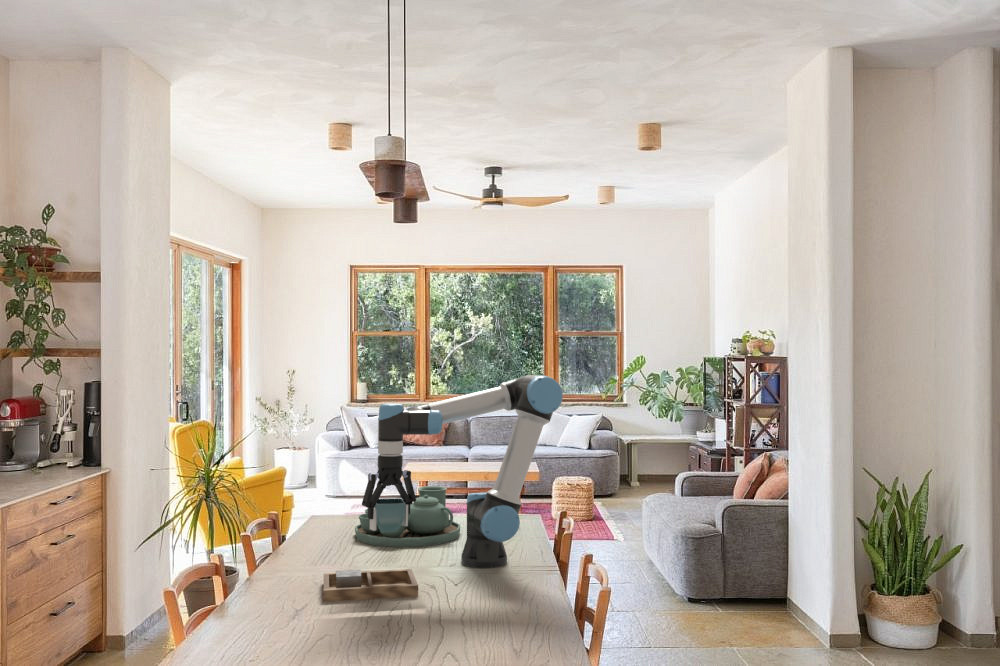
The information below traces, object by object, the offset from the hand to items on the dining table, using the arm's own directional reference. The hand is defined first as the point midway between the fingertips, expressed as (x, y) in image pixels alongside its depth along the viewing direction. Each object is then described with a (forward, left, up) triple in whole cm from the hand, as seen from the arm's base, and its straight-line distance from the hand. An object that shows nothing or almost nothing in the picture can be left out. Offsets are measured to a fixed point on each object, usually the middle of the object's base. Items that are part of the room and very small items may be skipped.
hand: (388, 527), depth 251 cm
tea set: (-12, -61, -17) cm, 65 cm away
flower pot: (0, 0, -1) cm, 1 cm away
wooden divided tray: (+6, +12, -16) cm, 21 cm away
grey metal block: (+12, +12, -15) cm, 23 cm away
